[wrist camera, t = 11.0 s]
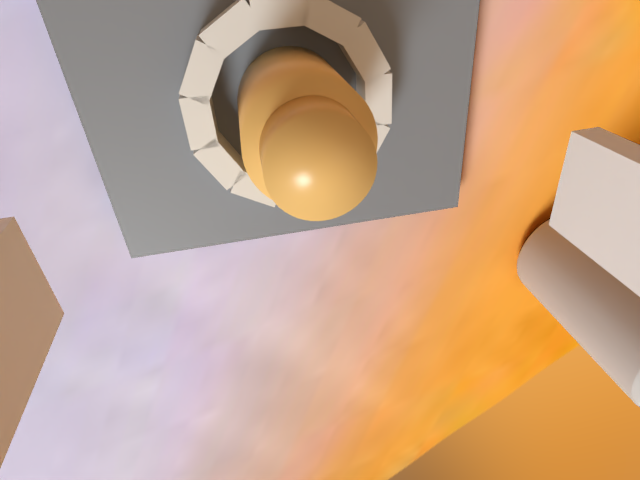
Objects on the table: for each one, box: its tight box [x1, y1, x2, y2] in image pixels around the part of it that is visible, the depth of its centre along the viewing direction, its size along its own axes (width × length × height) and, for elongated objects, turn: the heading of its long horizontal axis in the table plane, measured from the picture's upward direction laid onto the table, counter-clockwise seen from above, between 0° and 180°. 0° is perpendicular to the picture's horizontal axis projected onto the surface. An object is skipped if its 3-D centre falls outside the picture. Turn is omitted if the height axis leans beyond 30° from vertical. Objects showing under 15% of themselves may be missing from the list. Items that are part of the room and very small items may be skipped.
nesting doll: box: [237, 46, 378, 221], centre depth 17 cm, size 5×5×8 cm
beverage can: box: [517, 219, 640, 407], centre depth 25 cm, size 6×6×12 cm
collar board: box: [36, 0, 480, 258], centre depth 20 cm, size 18×14×3 cm
